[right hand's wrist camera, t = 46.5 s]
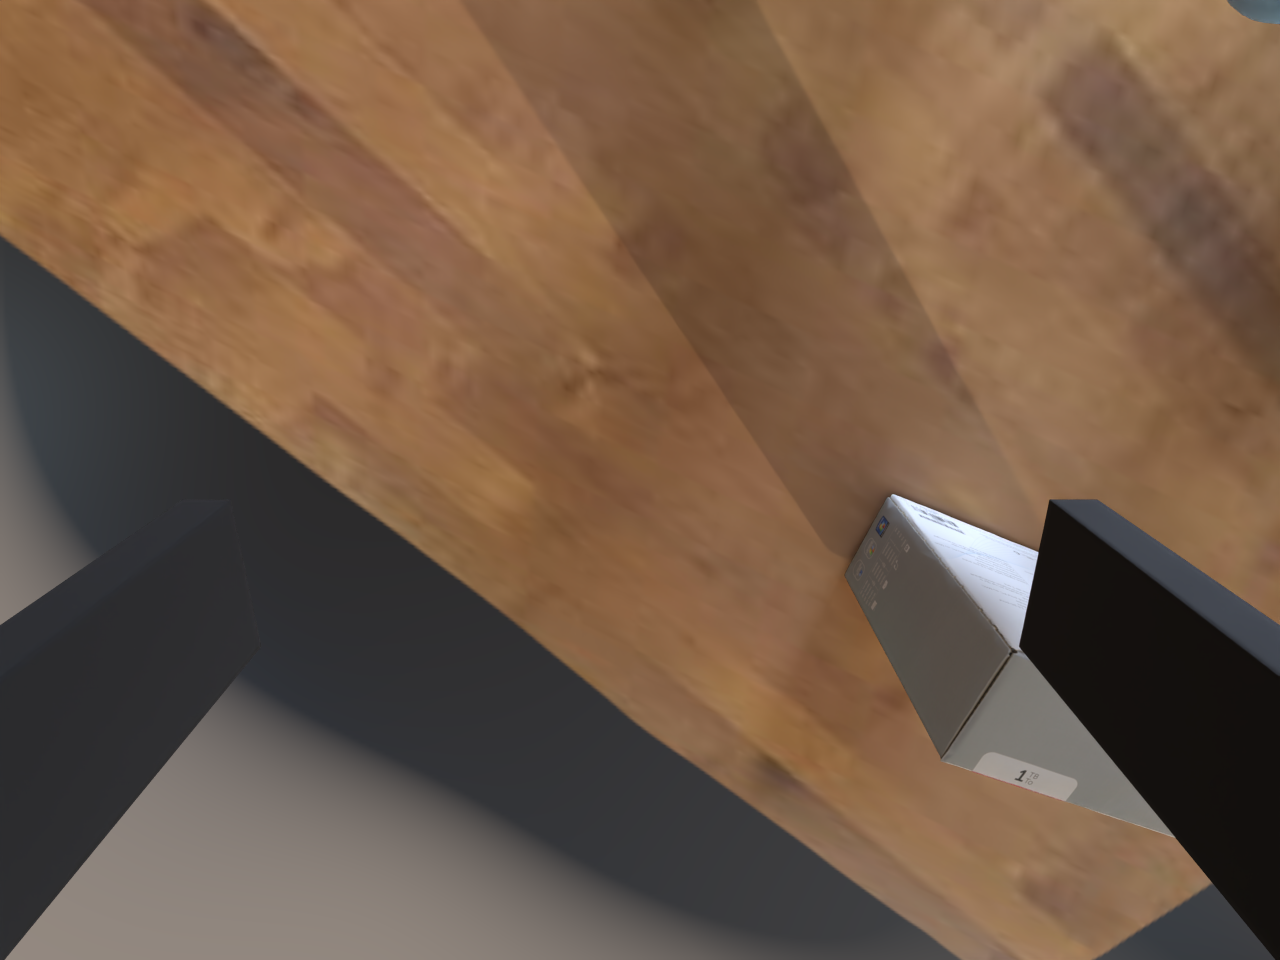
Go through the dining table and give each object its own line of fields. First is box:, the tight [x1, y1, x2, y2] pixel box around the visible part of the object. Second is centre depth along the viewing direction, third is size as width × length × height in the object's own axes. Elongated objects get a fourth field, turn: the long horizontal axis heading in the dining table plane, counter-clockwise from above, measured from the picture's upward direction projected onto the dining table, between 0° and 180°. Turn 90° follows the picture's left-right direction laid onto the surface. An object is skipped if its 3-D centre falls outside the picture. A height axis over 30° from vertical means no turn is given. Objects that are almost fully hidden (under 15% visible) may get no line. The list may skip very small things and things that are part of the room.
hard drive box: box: [845, 494, 1175, 838], centre depth 49 cm, size 16×8×20 cm, turn 68°
